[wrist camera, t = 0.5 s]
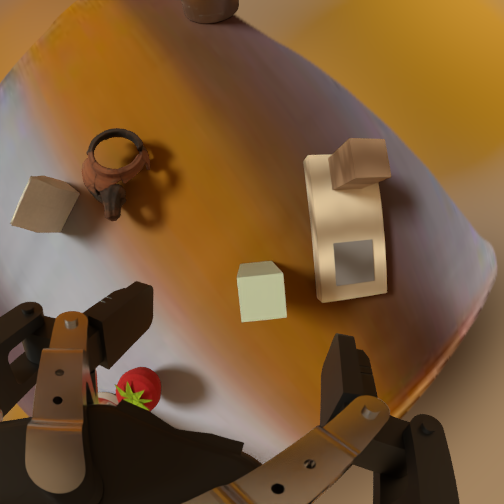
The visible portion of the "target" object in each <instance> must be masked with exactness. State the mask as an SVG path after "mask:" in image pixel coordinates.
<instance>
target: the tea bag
mask: <svg viewBox="0 0 504 504" xmlns="http://www.w3.org/2000/svg"><path fill="white" fill-rule="evenodd" d="M79 195H80V193H79V192H78V191H77V190H75V189H74V188H73V187H71V186H70V185H69V184H68V183H66V182H64V181H61V180H57V179H54V178H50V177H46V176H31V177H30V179H29V181H28V183H27V185H26V187H25V189H24V192H23V194H22V196H21V198H20V201H19V203H18V205H17V208H16V210H15V213H14V215H13V218H12V220H11V223H10V224H12V226H17V227H20V228H24V229H27V230H30V231H34V232H37V233H49V232H61V230H62V228H63V226H64V224H65V222H66V220H67V218H68V216H69V214H70V212H71V210H72V208H73V206H74V204H75V202H76V200H77V198H78V196H79Z"/></svg>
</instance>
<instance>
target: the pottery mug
mask: <svg viewBox="0 0 504 504" xmlns="http://www.w3.org/2000/svg"><path fill="white" fill-rule="evenodd" d="M112 137H123V138H126V139H129V140H131V141H132V142H133V143H134V144H135V145H136V147H137V149H138V151H139V154H138V155H137V156H136V158H135V159H134V160H133V161H132V162H131V163H130V164H129V165H127V166H125V167H122V168H119V169H110V168H106V167H103V166H101V165H100V164H98V163H97V161H96V160H95V157H94V150H95V148H96V146H97V145H98V144H99V143H100V142H101V141H103V140H107V139H109V138H112ZM87 155H88V158H87V159H86V160H85V161H84V162H83V165H82V176H83V181H84V184H85V186H86V187H87V189H88V190H89V191H90V193H91V194H92V195H93V196H94V197H95V198H96V200H98V201H99V202H100V203H103V204H104V211H105V218H106V219H108V220H110V221H116V220H117V219H118V218H119V217H120V215H121V214H120V213H121V207H122V205H123V204H124V203H125V202H126V199H125V197H126V195H125V194H126V191H125V189H124V188H123V187H122V186H121V185H119V184H116V183H117V182H118V181H120V180H122V182H123V183H124V184H125V183H127V182H128V181H129V180H131V179H132V178H133V177H135V176H136V175H137V173H138V172H139V171H140V170H141V169H142V168H143V167H144V165H145V164H146V168H147V170H150V159H149V155H148V151H147V150H146V148H145V147H144V146H143V142H142V140H141V139H140V138H139V137H138V136H137V135H136V134H135V133H133V132H131V131H128V130H125V129H118V128H116V129H109V130H106V131H104V132H102V133H100V134H99V135H97V136H96V137H95V138H94V139H93V140H92V141H91V143H90V146H89V149H88V151H87ZM99 192H100V193H99Z"/></svg>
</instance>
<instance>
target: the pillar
mask: <svg viewBox="0 0 504 504" xmlns="http://www.w3.org/2000/svg"><path fill="white" fill-rule="evenodd" d="M237 284H238V293H239V302H240V311H241V320H242V322H249V321H259V320H268V319H277V318H285V317H287V313H286V301H285V289H284V277H283V272H282V271H281V270H280V269H279V268H278V267H277V266H276V265H275V264H274V263H273V262H272V261H265V262H256V263H246V264H240V267H239V271H238V275H237Z"/></svg>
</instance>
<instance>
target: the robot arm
mask: <svg viewBox="0 0 504 504" xmlns="http://www.w3.org/2000/svg"><path fill="white" fill-rule="evenodd" d="M181 2H182V6H183V9H184V13H185V15H186V17H187V18H188V19H190V20H191V21H194V22H198V23H215V22H219V21H223V20H225V19H227V18H229V17H231V16H232V15H233V14H234V13H235V12H236V11H237V10H238V6H239V0H181ZM152 320H153V287H152V286H150V285H147V284H144V283H141V282H138V281H136V282H134V283H133V284H131V285H130V286H128V287H127V288H126V289H125V288H123V289H120V290H117V291H114V292H112V293H111V294H110V295H108V296H107V298H106V297H105V298H104V299H102V300H101V301H99V302H98V303H96V304H95V305H94V306H92V307H91V308H89V309H88V310H86V311H85V312H84V313H80V312H76V311H69V312H65V313H62V314H60V315H59V316H58V317H57V318H51V317H47V316H44V314H43V308H42V306H41V305H40V304H38V303H36V302H25V303H22V304H20V305H18V306H17V307H15V308H13V309H12V310H10V311H9V312H7V313H6V314H4V315H3V316H1V317H0V504H313V503H314V502H315V501H316V500H317V499H318V498H319V497H320V496H321V495H323V494H324V493H325V492H326V491H327V490H328V489H329V488H330V487H331V486H332V485H333V484H334V483H335V482H336V481H337V480H338V479H339V478H340V477H341V476H342V475H343V474H344V473H345V472H346V471H347V470H348V469H349V468H350V467H351V466H352V465H356V466H359V467H362V468H365V469H368V470H371V471H373V476H374V477H373V485H374V486H373V504H459V498H458V491H457V487H456V480H455V476H454V470H453V466H452V461H451V457H450V453H449V449H448V445H447V441H446V437H445V433H444V430H443V427H442V425H441V423H440V422H439V421H438V420H437V419H435V418H434V417H432V416H429V415H425V414H420V415H417V416H415V417H414V418H413V419H412V420H411V421H410V422H407V421H404V420H401V419H398V418H395V417H393V416H391V415H390V410H389V408H388V406H387V405H386V404H385V403H384V402H383V401H382V400H380V399H378V397H377V392H376V387H375V383H374V378H373V375H372V374H373V373H372V369H371V365H370V360H369V358H368V356H367V355H366V354H365V352H364V351H363V350H359V349H356V345H355V340H354V337H353V336H348V335H343V334H338V333H336V334H335V336H334V338H333V341H332V344H331V346H330V349H329V352H328V354H327V357H326V359H325V362H324V365H323V368H322V373H321V413H320V426H316V427H315V428H313V429H312V430H311V431H309V432H308V433H307V434H306V435H304V436H303V437H302V438H300V439H299V440H298V441H296V442H295V443H293V444H292V445H291V446H289V447H288V448H286V449H285V450H284V451H282V452H281V453H279V454H278V455H276V456H275V457H273V458H272V459H270V460H269V461H267V462H266V463H264V464H263V465H262V464H261V463H260V462H259V461H257V460H256V459H255V458H253V457H251V456H250V455H248V454H246V453H244V452H242V448H243V445H244V443H243V442H239V441H235V440H231V439H228V438H224V437H221V436H217V435H214V434H209V433H200V432H192V431H185V430H179V429H175V428H173V427H172V426H170V425H169V424H167V423H166V422H164V421H163V420H161V419H160V418H158V417H157V416H155V415H154V414H152V413H151V412H150V411H148V410H145V409H143V408H141V407H138V406H136V405H134V404H132V403H130V402H128V401H125V400H123V399H122V400H121V401H120V402H119V404H118V405H117V406H114V405H107V404H99V401H98V387H97V371H96V367H97V366H98V365H101V366H103V367H105V368H107V369H110V368H111V367H112V366H113V365H114V364H115V363H116V362H117V361H118V360H119V359H120V358H121V356H122V355H123V354H124V353H125V352H126V351H127V350H128V349H129V348H130V347H131V346H132V345H133V344H134V343H135V342H136V341H137V340H138V339H139V338H140V337H141V336H142V335H143V334H144V333H145V332H146V331H147V330H148V329H149V327H150V325H151V323H152ZM20 342H22V344H23V347H24V350H25V352H24V353H23V354H21V355H20V356H19V357H18V358H17V359H16V360H14V361H13V362H12V363H11V364H10V365H9V362H8V354H9V352H10V351H11V350H12V349H13V348H14V347H15V346H17V345H18V344H19V343H20ZM35 384H36V389H35V396H34V405H33V415H32V417H29V418H23V419H17V420H10V421H3V422H2V420H3V417H4V416H5V415H6V414H7V413H8V412H9V411H10V410H11V409H12V408H13V407H14V406H15V404H16V403H17V402H18V401H19V400H20V399H21V398H22V397H23V396H24V395H25V394H26V393H27V392H28V391H29V390H30V389H31V388H32V387H33V386H34V385H35Z"/></svg>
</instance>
